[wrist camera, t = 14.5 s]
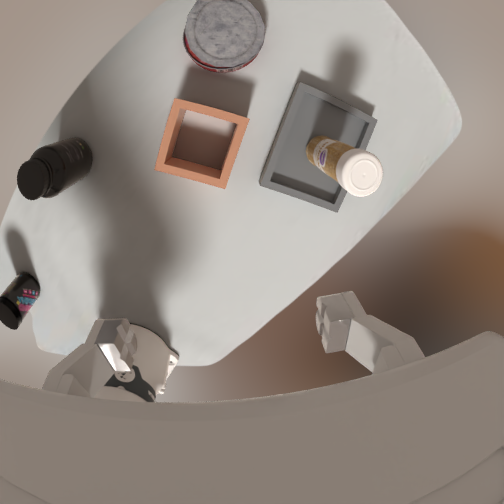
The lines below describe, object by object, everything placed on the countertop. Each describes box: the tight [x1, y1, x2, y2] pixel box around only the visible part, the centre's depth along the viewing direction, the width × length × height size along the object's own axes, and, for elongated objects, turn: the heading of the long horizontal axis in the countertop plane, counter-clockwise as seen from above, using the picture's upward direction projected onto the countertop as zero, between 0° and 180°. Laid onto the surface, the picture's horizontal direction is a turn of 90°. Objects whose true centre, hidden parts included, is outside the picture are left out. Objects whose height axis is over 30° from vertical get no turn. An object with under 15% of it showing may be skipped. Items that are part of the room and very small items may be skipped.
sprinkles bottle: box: [306, 136, 383, 197], centre depth 30 cm, size 5×5×13 cm
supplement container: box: [0, 272, 40, 330], centre depth 38 cm, size 7×7×10 cm
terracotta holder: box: [154, 98, 249, 189], centre depth 32 cm, size 9×9×5 cm
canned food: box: [183, 0, 265, 73], centre depth 25 cm, size 11×10×10 cm
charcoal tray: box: [259, 82, 377, 212], centre depth 35 cm, size 15×12×2 cm
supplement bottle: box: [17, 138, 92, 200], centre depth 28 cm, size 7×7×12 cm
